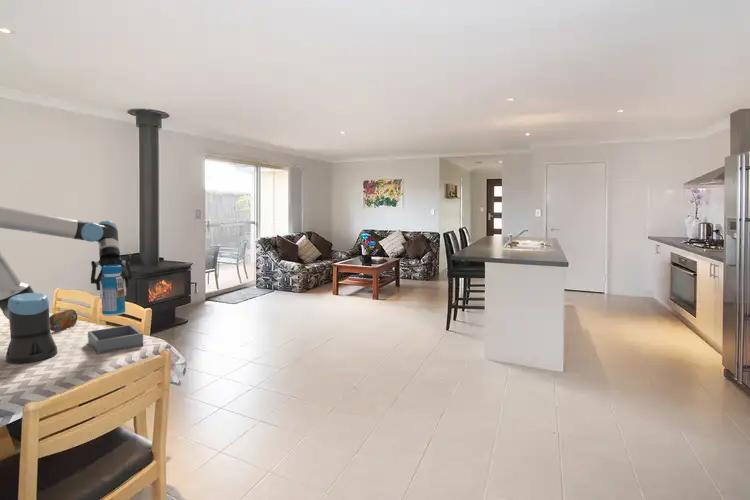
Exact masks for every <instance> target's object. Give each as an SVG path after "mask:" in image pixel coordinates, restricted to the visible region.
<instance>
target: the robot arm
mask: <svg viewBox="0 0 750 500" xmlns="http://www.w3.org/2000/svg"><path fill="white" fill-rule="evenodd" d="M0 229H5V230H12V231H18V232H25V233H32V234H39V235H45V236H47V235H48V236H52V237H59V238H60V237H61V238H67V239H74V240H80V241H85V242H88V243H89V242H90V243H91V242H98V254H99V256H98V257H99V260H97V261H94V260H93V261H91V263H90V264H91V268H92V269H91V274H90V284H92V285H93V284H94V285H96V291H99V292H100V293H99V294H100V299H102V298H103V289H102V284H101V280H102V278H103V277H104V274H103V272H102V267H103V266H106V265H121V266H122V265H123V266H124V268H125V271H126V273H125V271H124V270H123V269H122V273H121V274H120V275H121V276H122V277H123V279H124V283H123V288H124V296H125V297H126V296H127V289H129V286H130V285H129V282H132V281H133V272H132V270H131V267H130V260H129V259H125V260H124V259H122V258H121V251H120V249H121V248H120V242H119V231H118V227H117V225H116V223H115V222H113V221H111V220H103V221H100V222H98V223H96V222H89V221H83V220H79V219H78V220H77V219H74V218H73V219H72V218H67V217H60V216H55V215H50V214H44V213H40V212H33V211H27V210H22V209H16V208H10V207H7V206H5V207H4V206H0ZM99 266H100V267H101V270H100V271H99V273H98V275H97V278H96V274H97V268H98V267H99ZM49 301H50V300H49V297H48V296H47V295H46V294H44V293H41V292H40V293H37V292H35V291H34V290H33V288H32V287H31V286H30V284H29V283H24V282H22V280H21V279H20V278H19V277H18V275H17V273H16V272H15V270H14V269H13V268H12V266H11V265H10V263H9V262H8V261H7V260H6V258H5V256H4V255H3V254H2V252H1V251H0V311H1V312H2V314H3V316H4V317H5V318H6V319H8V320H9V321H8V322H9V331H10V332H9V333H10V341H9V343H8V347H7V351H6V352H5V362H6V363H9V364H27V363H34V362H38V361H43V360H46V359H49V358H52V357H54V356H56V355H57V354H58V345H56V342H55V341H54V339H53V336H52V335H51V330H50V319H49V318H50V302H49Z"/></svg>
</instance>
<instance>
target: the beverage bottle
mask: <svg viewBox="0 0 750 500" xmlns="http://www.w3.org/2000/svg"><path fill="white" fill-rule="evenodd" d="M101 269H102V272H103V274H104V276H103V278H102V280H101V284H102V289H103V298H101V311H102V312H101V313H102V315H103V316H106V317H112V316H113V317H115V316H120V315H124V314H125V313H126V296H124V288H123V283H124V279H123V277H122V276H121V275H120V274H121V273H122V270H123V269H122V264H121V265H106V266H103V267H102V266H101Z"/></svg>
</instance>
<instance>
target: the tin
mask: <svg viewBox="0 0 750 500" xmlns="http://www.w3.org/2000/svg"><path fill="white" fill-rule="evenodd" d="M49 319H50V331H51V332H62V331H64V330H67V328H68V329H70V328H72V327H74V326H75V325H76V324H77V321H78V313H77V312H76V310H74V309H64V310H62V311H58V312H55V313H53V314H51V315H49Z"/></svg>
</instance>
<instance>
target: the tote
mask: <svg viewBox="0 0 750 500" xmlns="http://www.w3.org/2000/svg"><path fill="white" fill-rule="evenodd" d="M87 338H88V340H87V341H88V344H89V346H90V347H91V348H92V349H93V350H94V351H95V353H96V354H97V355H100V354H106V353H111V352H116V351H122V350H127V349H132V348H136V347H142V346H144V333H143V332H141V331H140V330H139V329H137V328H136V327H135V326H134V325H132V324H126V325H122V326H121V325H120V326H113V327H108V328H102V329H95V330H88V331H87Z"/></svg>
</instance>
